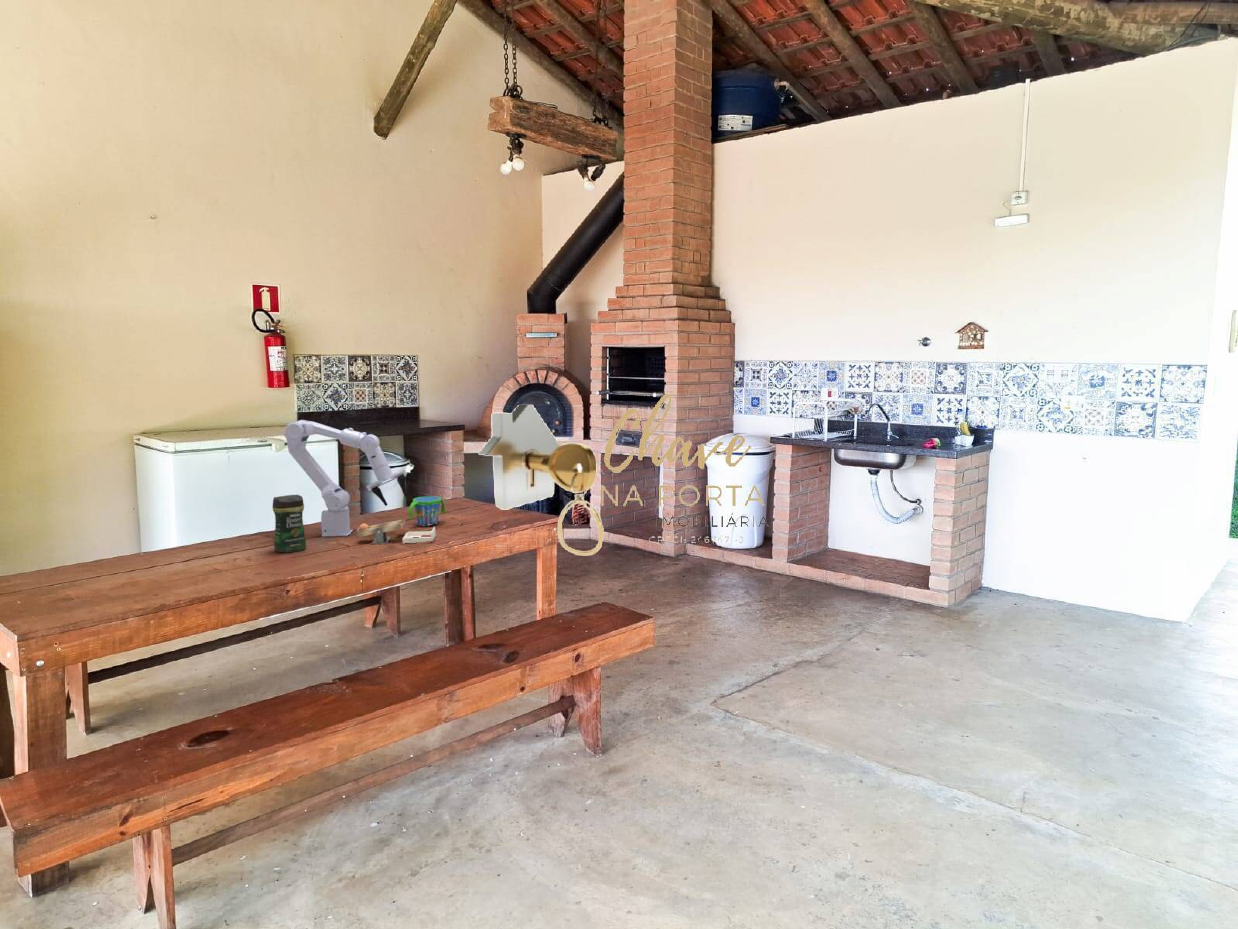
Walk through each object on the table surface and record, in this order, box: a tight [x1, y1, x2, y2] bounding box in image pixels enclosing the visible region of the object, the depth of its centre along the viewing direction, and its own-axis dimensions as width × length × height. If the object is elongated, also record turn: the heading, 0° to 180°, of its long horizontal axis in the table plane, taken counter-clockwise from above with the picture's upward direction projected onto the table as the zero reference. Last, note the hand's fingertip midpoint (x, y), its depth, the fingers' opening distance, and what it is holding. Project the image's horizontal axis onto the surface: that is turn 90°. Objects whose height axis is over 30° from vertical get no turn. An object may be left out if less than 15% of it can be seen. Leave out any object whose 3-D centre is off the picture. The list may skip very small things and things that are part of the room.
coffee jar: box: [271, 494, 307, 553], centre depth 268 cm, size 10×8×19 cm
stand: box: [371, 529, 392, 545], centre depth 281 cm, size 5×9×5 cm, turn 7°
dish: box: [402, 526, 436, 545], centre depth 282 cm, size 10×10×4 cm
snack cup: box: [408, 496, 446, 525], centre depth 306 cm, size 16×10×10 cm
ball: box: [359, 523, 369, 530], centre depth 280 cm, size 3×3×3 cm
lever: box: [356, 518, 408, 538], centre depth 284 cm, size 15×13×2 cm
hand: (396, 500), depth 291 cm, fingers open, 7 cm apart
